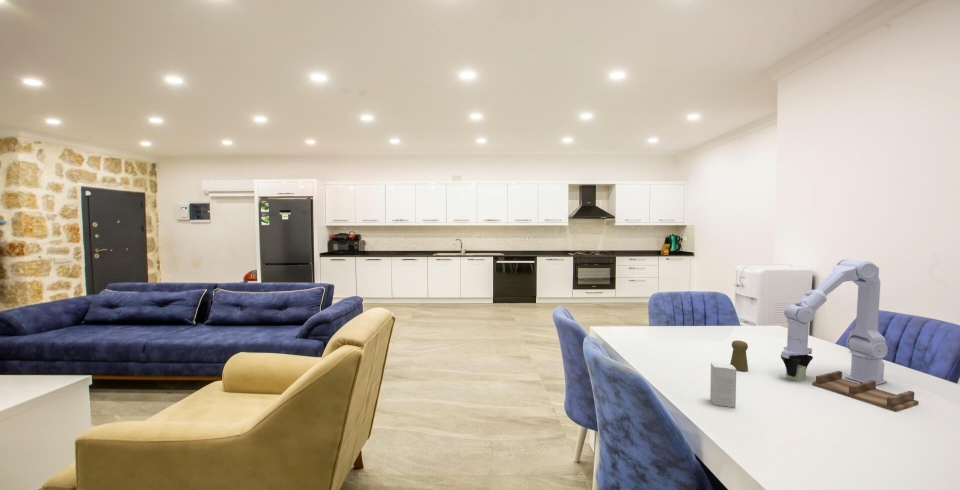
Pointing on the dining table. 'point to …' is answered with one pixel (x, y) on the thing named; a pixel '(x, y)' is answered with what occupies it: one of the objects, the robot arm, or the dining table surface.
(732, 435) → the dining table surface
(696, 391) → the dining table surface
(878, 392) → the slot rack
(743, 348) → the cork
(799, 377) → the sage block
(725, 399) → the skincare box
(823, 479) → the dining table surface
